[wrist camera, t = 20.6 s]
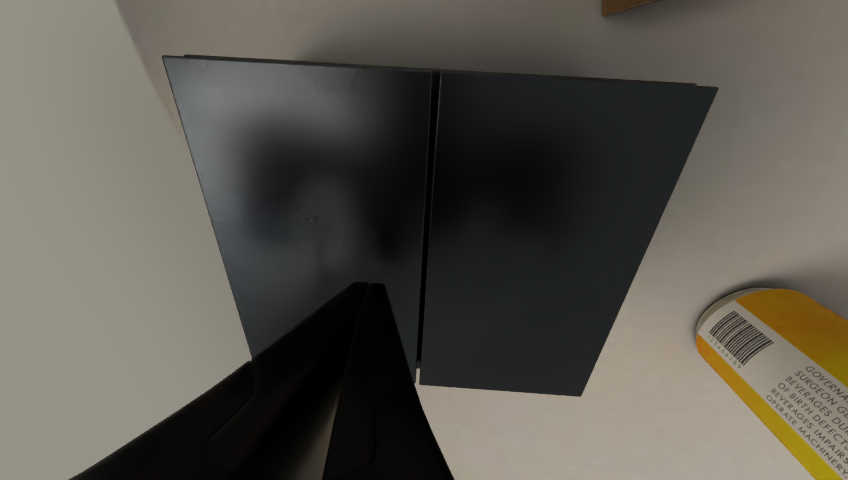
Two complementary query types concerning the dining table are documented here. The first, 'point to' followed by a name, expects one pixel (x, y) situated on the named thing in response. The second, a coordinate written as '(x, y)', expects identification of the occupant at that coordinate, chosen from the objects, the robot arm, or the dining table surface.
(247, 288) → the hatch
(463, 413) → the dining table surface
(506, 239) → the black cupboard
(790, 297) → the yellow labelled cylinder
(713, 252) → the dining table surface
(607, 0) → the laundry tray
